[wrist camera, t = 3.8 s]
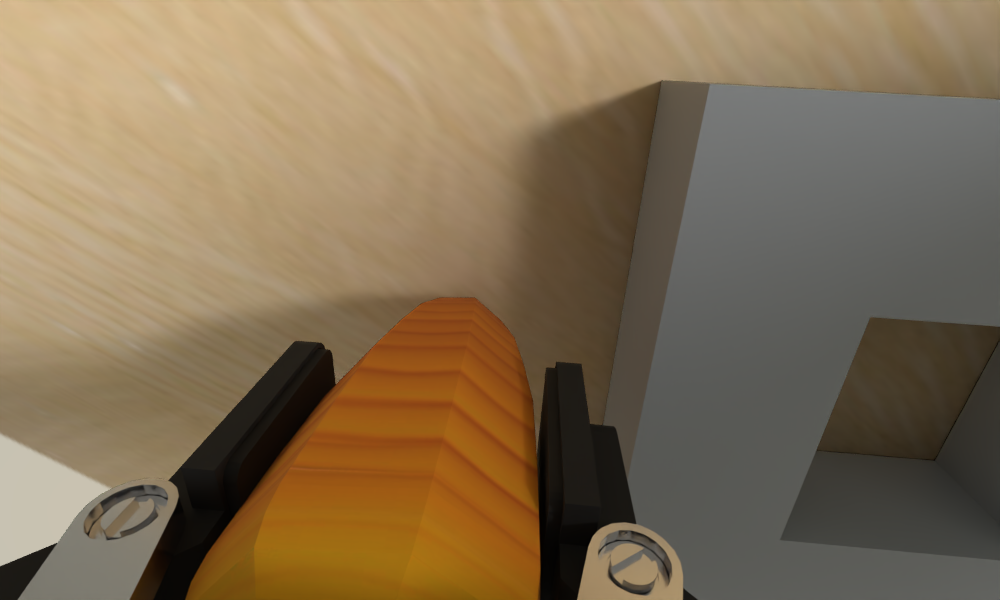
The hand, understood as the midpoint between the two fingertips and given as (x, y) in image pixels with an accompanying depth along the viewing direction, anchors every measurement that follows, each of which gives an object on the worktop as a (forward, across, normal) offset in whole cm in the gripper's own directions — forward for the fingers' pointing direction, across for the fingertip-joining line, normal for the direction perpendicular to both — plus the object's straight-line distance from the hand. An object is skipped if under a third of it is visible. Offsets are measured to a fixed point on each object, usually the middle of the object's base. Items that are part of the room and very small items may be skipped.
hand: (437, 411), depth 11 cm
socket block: (+5, -13, +1) cm, 14 cm away
